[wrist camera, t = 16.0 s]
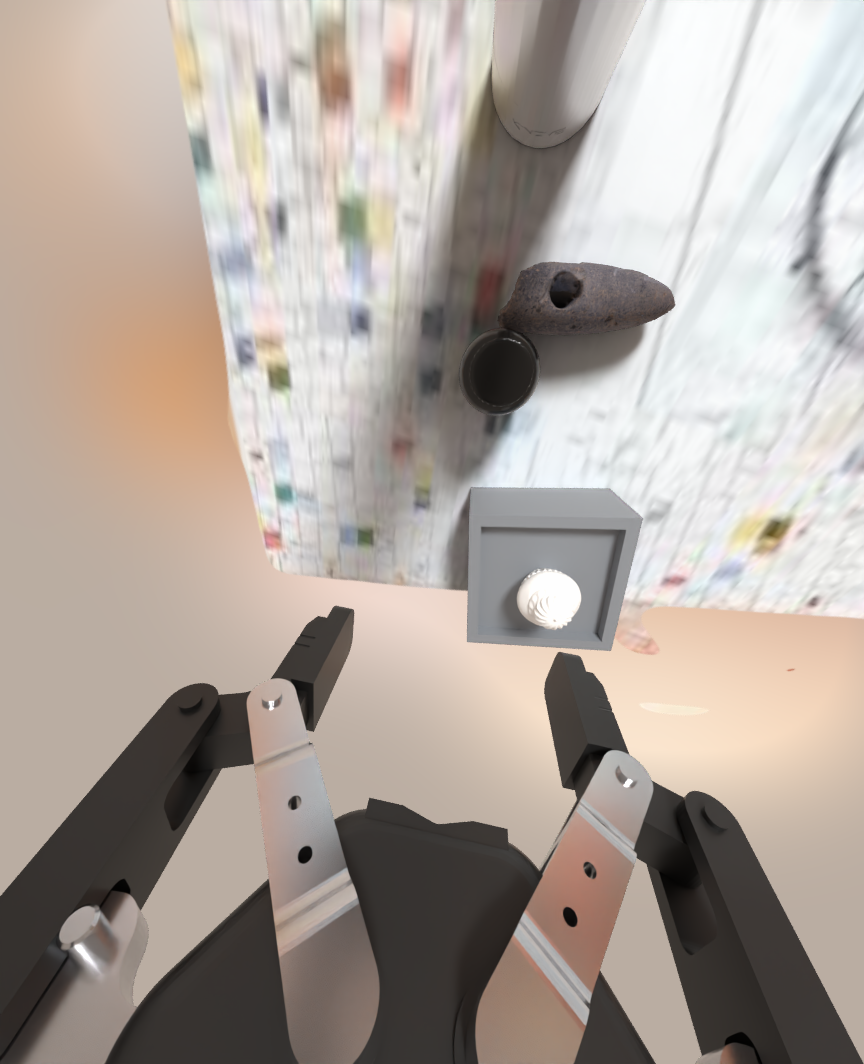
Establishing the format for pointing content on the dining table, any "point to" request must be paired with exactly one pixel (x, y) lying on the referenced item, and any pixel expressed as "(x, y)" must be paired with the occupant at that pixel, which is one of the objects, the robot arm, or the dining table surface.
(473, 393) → the supplement bottle
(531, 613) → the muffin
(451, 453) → the dining table surface
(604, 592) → the grey square open box
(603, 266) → the perforated stone tool
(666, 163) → the dining table surface
